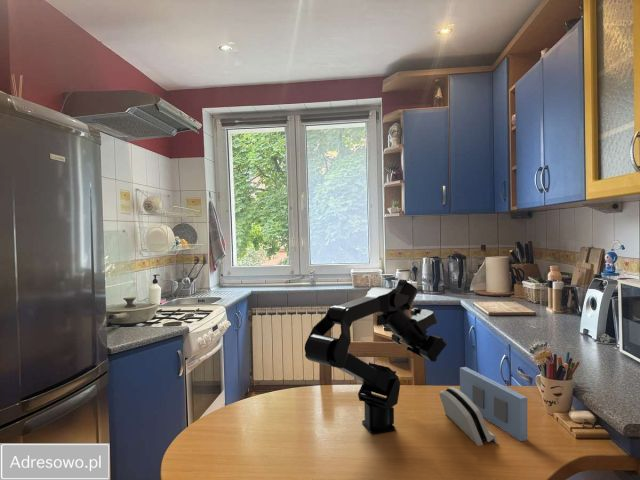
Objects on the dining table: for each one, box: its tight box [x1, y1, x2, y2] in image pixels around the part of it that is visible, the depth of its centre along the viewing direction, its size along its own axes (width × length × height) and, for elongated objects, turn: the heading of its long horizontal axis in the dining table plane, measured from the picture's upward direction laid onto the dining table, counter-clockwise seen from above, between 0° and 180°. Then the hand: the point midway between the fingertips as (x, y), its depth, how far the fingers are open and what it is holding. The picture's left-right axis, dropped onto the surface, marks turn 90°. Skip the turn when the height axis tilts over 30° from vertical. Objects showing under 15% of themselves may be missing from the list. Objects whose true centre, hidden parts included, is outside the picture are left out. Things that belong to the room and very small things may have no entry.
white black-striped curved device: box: [439, 387, 498, 446], centre depth 98 cm, size 17×5×10 cm, turn 8°
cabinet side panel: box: [459, 366, 528, 442], centre depth 102 cm, size 2×22×10 cm, turn 17°
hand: (435, 360), depth 109 cm, fingers closed
